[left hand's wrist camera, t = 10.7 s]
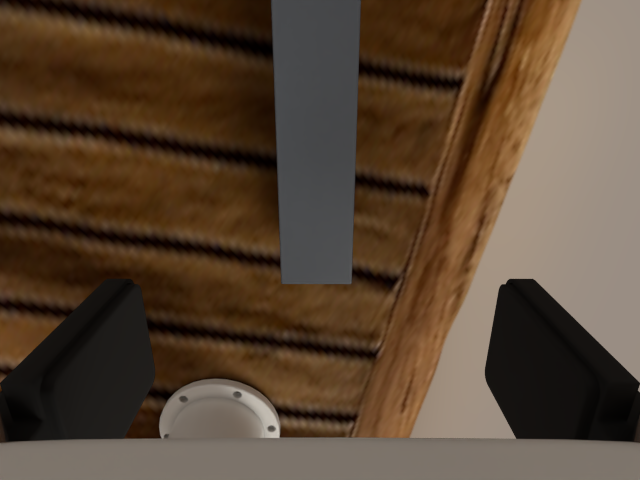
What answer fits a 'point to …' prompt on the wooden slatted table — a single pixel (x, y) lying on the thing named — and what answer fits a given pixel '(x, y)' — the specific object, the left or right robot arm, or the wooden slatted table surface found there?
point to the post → (316, 136)
